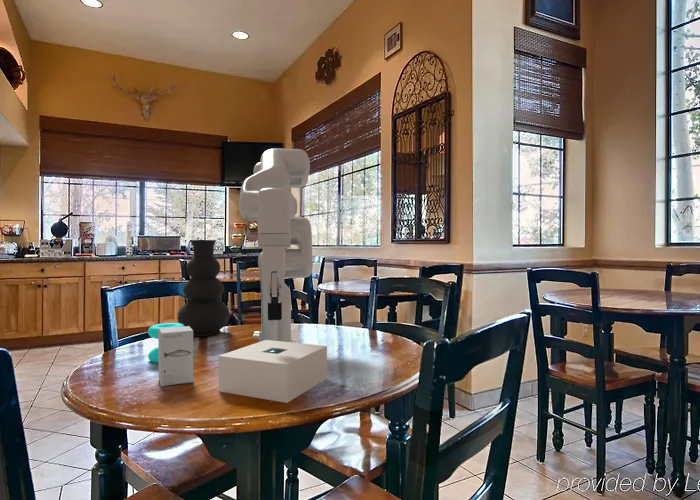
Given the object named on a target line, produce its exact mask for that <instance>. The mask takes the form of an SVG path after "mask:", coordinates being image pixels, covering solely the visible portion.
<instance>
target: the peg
mask: <svg viewBox="0 0 700 500" xmlns="http://www.w3.org/2000/svg"><path fill="white" fill-rule="evenodd" d="M281 352H284V350H283V349H269V350H267V351H266V353H274V354H279V353H281Z"/></svg>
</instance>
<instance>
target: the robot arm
mask: <svg viewBox="0 0 700 500" xmlns="http://www.w3.org/2000/svg"><path fill="white" fill-rule="evenodd" d="M310 165H311V162H310V159H309V155H308V153H307V152H306V151H305V150H304V149H301V148H300V149H299V148H283V147H282V148H279V147H278V148H277V147H275V148H270V149H267V150H265V151H264V152H263V153H262V155H261V156H260V162H257V163H256V164H255V165H254V167H253V174H252V175H251V176H249V177H247V178H245V180H244V181H243V183H242V185H241V187H240V193H239V199H238V209H239V214H240V216H241V217H242V218H243V219H244V220H245V221H248V222H257V248H258V249H262V251H261V252H260V254H259V255H258V258H257V265H258V273H259V280H260V296H261V297H260V300H261V301H260V304H261V305H260V307H261V309H260V313H261V314H260V315H261V318H260V320H261V325H260V326H261V327H260V328H261V330H260V331H254V332H253V334H252V339H255V340H256V339H258V342H261V341H264V340H272V341H282V342H292V343H297V342H296V340H294V339H292V295H291V294H292V293H291V290H290V287H288V285H287V284H286V283H285V279H302V278H308V277H310V276H311V274H312V272H313V265H314V264H313V262H314V259H313V236H312V235H313V234H312V233H313V232H312V225H311V221H310V220H309V219H308V218H307V217H305V216H296V215H297V213H298V200H297V198H296V197H295V195H294V194H293V193H292V192H290V191H289V190H287V189H301V188H304V187H306V186H307V184H308V180H309V176H310V171H311V170H310V169H311V166H310ZM291 246H295V247H297V248H291Z"/></svg>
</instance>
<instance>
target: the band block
mask: <svg viewBox="0 0 700 500" xmlns="http://www.w3.org/2000/svg"><path fill="white" fill-rule="evenodd" d="M269 349H283V350H284V352H281V353H279V354H274V353H266V351H267V350H269ZM217 358H218V392H220V393H226V394H231V395H232V394H233V395H237V396H243V397H250V398H255V399H262V400H267V401H273V402H278V403H279V402H280V403H285V404H287V403H289V402H292V401H293V400H294V399H296V398H298V397H299V396H301V395H303V394H304V393H306V392H307V391H309V390H311V389H313V388H315V386H317V385H319V384H320V383H322V382H324V381H326V380H328V345H321V344H310V343H301V342H300V343H299V342H296V343H292V342H282V341H272V340H264V341H261V342H259V341H258V342H256V343H252V344H250V345H246V346H244V347H240V348H238V349H235V350H232V351H229V352H226V353H223V354H219V355H218V357H217Z"/></svg>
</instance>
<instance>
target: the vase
mask: <svg viewBox="0 0 700 500" xmlns="http://www.w3.org/2000/svg"><path fill="white" fill-rule="evenodd" d="M189 241H190V243H191V244H192V249H193V257H191V259H190V260H189V261H188V263H186V264H187V265H186V272H187V274H188V275H189V277H190V279H189V280H187V281H186V283H185V284H184V286H183V291H182V292H183V295H184V296H185V298H186V299H187V300H189V301H187V302H186V303H185V304H183V305H182V306H181V307H180V309H179V310H178V313H177V323H180V324H183V325H184V326H190V328H191V329H192V330H193V337H209V336H215V335H217V334H219V333H220V332H221V329H223V328H224V327H226V325H228V322H229V320H230V317H231V312H230V309H229V307H228V306H227V305H226V304H225V303H224V302H222V301H220V300H219V299H220V298H221V297H222V296H223V294H224V292H225V287H224V284H223V282H222V281H221V280H220V279H219V278H217V276H218V275H219V273H220V271H221V264H220V262H219V261H218V259H217V258H216V257H214V250H215V248H214V247H215V244H216V242H217V240H216V239H190V240H189Z"/></svg>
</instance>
